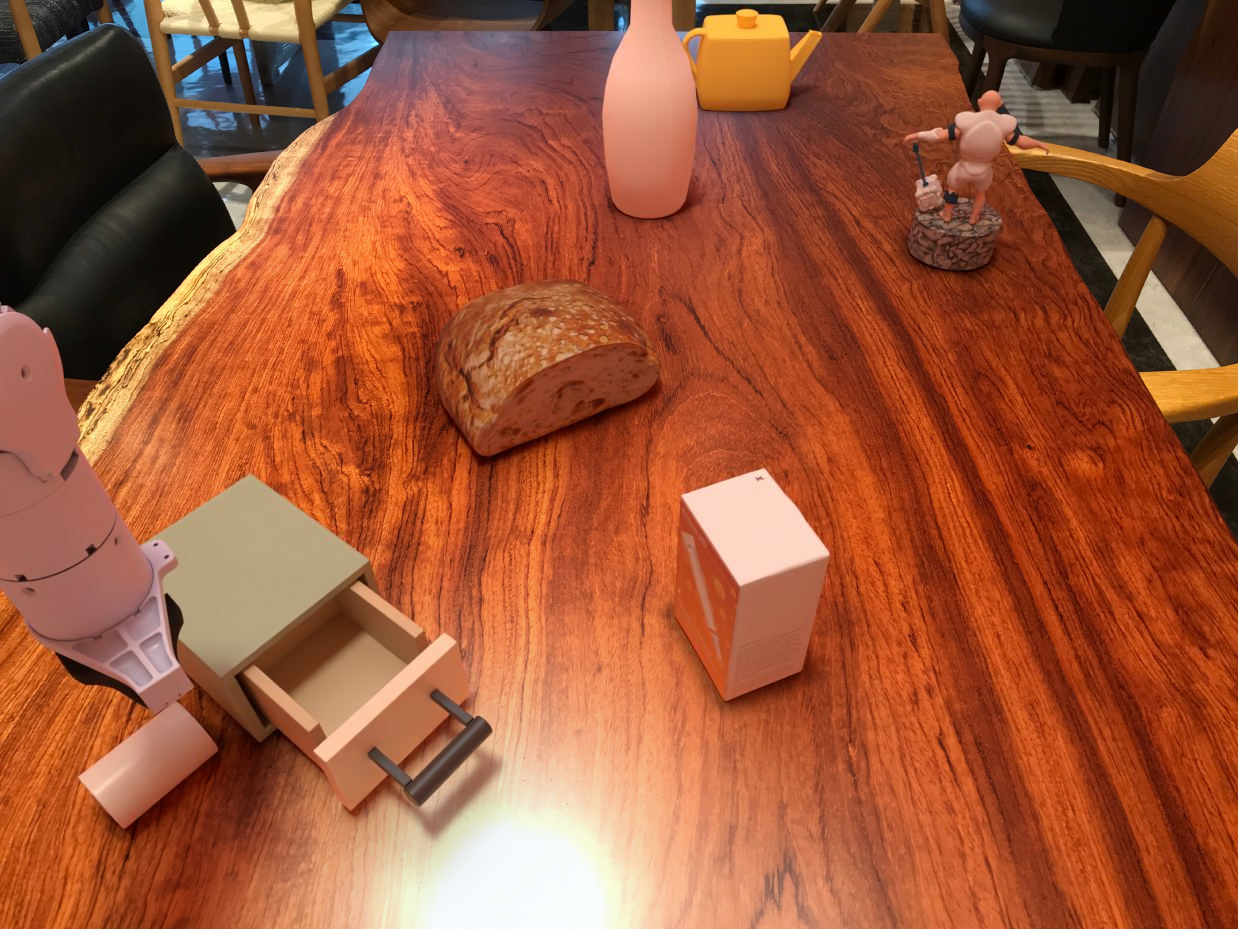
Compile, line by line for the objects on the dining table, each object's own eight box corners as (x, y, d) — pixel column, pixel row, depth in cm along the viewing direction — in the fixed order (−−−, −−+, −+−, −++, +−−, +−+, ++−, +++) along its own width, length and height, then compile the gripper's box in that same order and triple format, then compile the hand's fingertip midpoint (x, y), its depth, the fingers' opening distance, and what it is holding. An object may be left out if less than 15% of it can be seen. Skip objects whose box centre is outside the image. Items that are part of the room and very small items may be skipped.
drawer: (522, 734, 57) (512, 682, 53) (402, 860, 51) (381, 814, 47) (351, 602, 65) (331, 547, 60) (231, 699, 59) (199, 647, 55)
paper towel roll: (222, 754, 58) (217, 741, 54) (127, 835, 54) (116, 825, 51) (180, 709, 58) (173, 692, 55) (83, 785, 55) (69, 772, 51)
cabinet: (393, 629, 64) (370, 559, 59) (260, 743, 58) (220, 677, 52) (280, 543, 70) (250, 472, 65) (149, 637, 64) (103, 569, 58)
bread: (472, 471, 76) (455, 380, 69) (413, 355, 87) (394, 267, 80) (682, 403, 82) (687, 313, 75) (601, 303, 94) (598, 217, 87)
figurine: (1012, 238, 102) (1065, 79, 89) (1019, 278, 96) (1077, 114, 83) (882, 226, 104) (916, 70, 92) (882, 264, 98) (918, 103, 86)
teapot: (807, 79, 137) (818, -4, 128) (819, 112, 128) (832, 25, 119) (678, 80, 137) (681, -2, 129) (681, 113, 128) (684, 27, 120)
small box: (671, 615, 65) (677, 492, 55) (747, 587, 66) (765, 464, 57) (723, 705, 59) (739, 586, 50) (804, 673, 61) (834, 552, 52)
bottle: (669, 232, 104) (677, -2, 86) (587, 211, 108) (578, -17, 90) (708, 192, 111) (722, -32, 93) (629, 173, 115) (629, -45, 97)
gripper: (208, 567, 39) (292, 724, 48) (72, 419, 46) (168, 580, 56) (45, 668, 35) (170, 816, 45) (-76, 490, 42) (54, 650, 52)
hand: (161, 691), depth 50 cm, fingers closed
